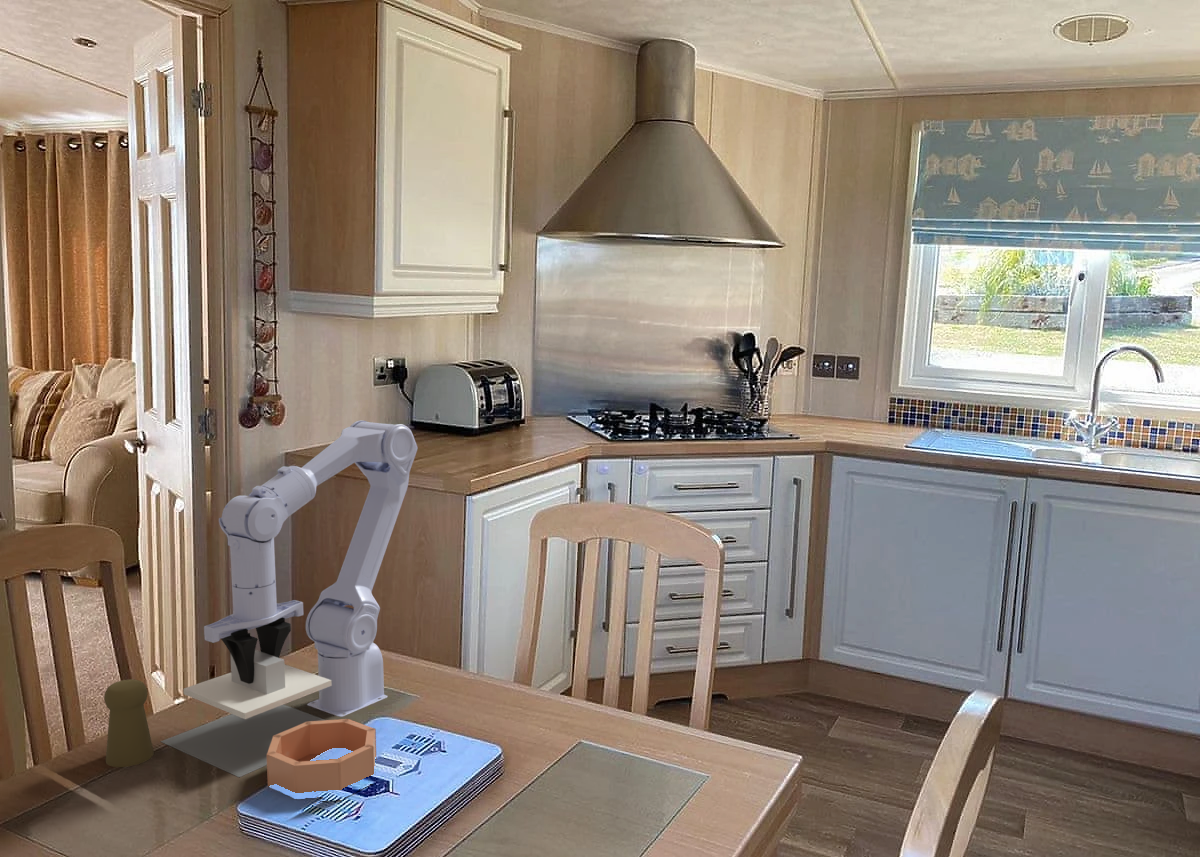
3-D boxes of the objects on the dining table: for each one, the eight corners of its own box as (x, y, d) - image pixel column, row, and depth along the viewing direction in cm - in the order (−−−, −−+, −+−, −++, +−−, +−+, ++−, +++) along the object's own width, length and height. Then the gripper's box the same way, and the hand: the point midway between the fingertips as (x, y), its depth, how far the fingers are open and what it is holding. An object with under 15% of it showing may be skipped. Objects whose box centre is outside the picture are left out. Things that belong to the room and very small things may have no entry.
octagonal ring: (330, 746, 139) (329, 711, 138) (396, 771, 131) (395, 735, 130) (249, 783, 128) (247, 746, 127) (316, 813, 120) (314, 774, 120)
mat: (269, 703, 153) (269, 699, 153) (348, 732, 143) (348, 728, 143) (160, 745, 139) (160, 741, 139) (239, 781, 128) (239, 777, 128)
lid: (270, 664, 149) (268, 633, 148) (331, 685, 141) (330, 652, 140) (183, 694, 137) (181, 660, 137) (245, 719, 129) (243, 683, 129)
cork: (135, 773, 131) (130, 693, 129) (94, 769, 132) (89, 689, 130) (164, 753, 136) (159, 676, 135) (125, 749, 138) (120, 672, 136)
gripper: (280, 566, 145) (283, 656, 147) (188, 590, 133) (194, 687, 135) (311, 574, 141) (314, 666, 143) (220, 599, 129) (224, 699, 131)
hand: (258, 677), depth 139 cm, fingers closed on lid, 3 cm apart
